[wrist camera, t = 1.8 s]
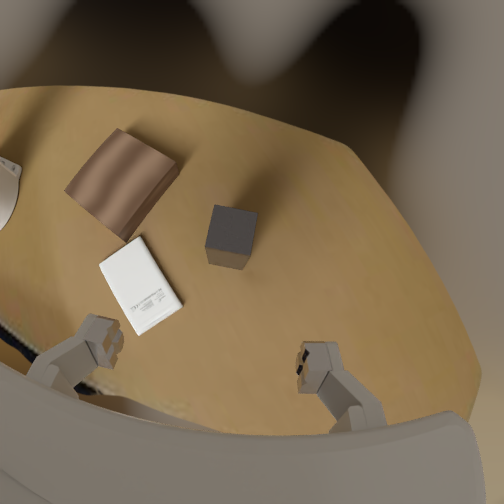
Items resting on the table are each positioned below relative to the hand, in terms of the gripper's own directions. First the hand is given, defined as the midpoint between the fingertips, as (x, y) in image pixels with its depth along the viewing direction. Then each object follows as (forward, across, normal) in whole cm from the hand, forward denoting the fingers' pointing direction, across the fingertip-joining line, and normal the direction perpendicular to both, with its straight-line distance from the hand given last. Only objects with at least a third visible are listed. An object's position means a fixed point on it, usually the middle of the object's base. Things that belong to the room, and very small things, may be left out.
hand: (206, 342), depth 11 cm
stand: (+33, +20, +4) cm, 39 cm away
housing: (+28, +1, +12) cm, 30 cm away
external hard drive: (+23, +14, +16) cm, 31 cm away
